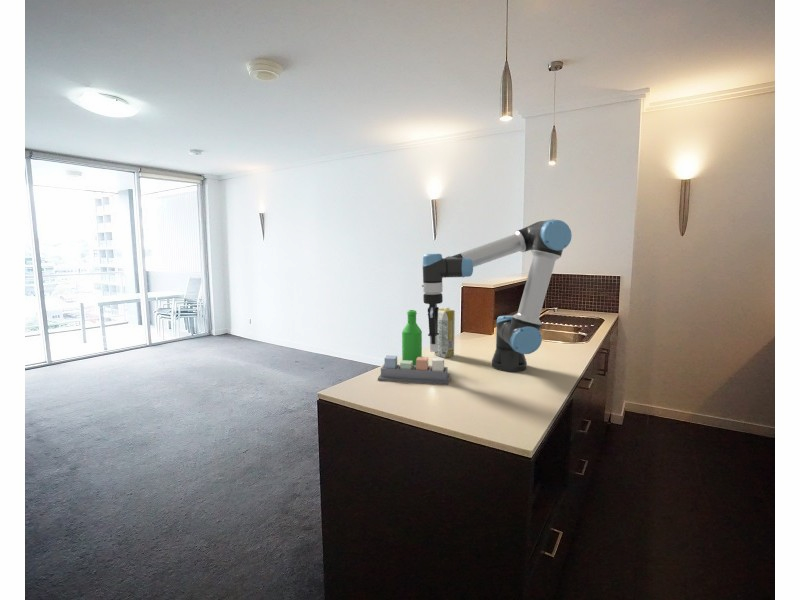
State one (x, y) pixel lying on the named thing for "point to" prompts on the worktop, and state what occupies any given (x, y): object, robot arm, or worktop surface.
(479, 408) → the worktop surface
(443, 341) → the juice carton
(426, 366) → the key terracotta
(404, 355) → the bottle
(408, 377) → the keypad
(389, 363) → the key slate
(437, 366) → the key cream
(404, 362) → the key sage
